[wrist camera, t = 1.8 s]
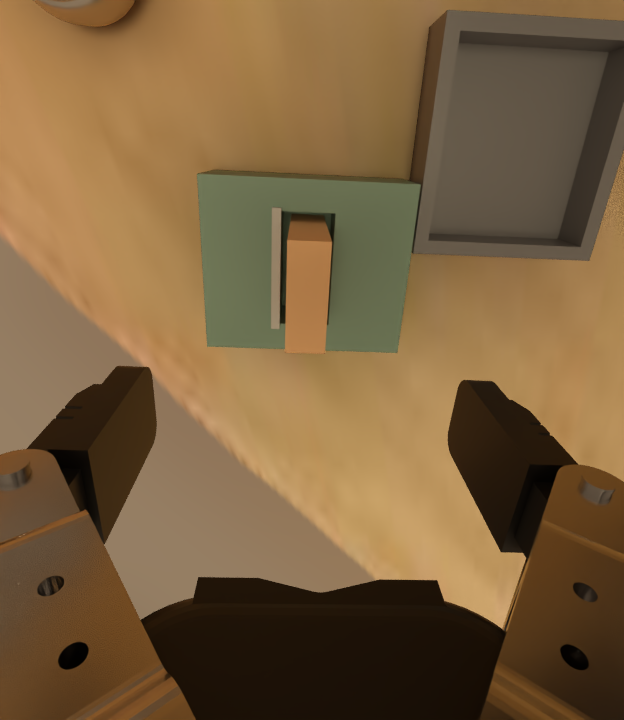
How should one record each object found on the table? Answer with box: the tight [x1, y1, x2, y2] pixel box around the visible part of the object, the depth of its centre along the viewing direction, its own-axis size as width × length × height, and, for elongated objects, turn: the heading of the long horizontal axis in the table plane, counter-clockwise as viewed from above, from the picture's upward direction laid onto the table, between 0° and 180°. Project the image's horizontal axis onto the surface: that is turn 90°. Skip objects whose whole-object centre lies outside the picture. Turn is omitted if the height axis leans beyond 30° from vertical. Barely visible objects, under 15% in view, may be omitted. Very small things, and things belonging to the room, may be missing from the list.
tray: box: [410, 10, 624, 261], centre depth 27 cm, size 11×12×4 cm
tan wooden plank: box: [285, 214, 332, 354], centre depth 25 cm, size 2×6×9 cm, turn 177°
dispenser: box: [197, 170, 421, 353], centre depth 28 cm, size 12×10×5 cm
